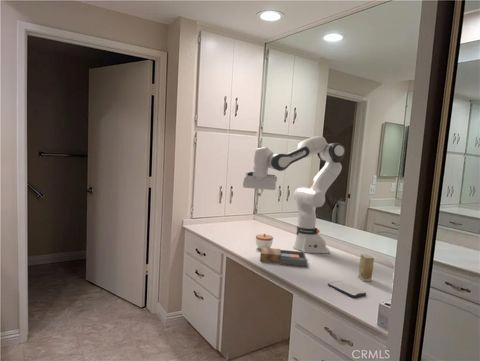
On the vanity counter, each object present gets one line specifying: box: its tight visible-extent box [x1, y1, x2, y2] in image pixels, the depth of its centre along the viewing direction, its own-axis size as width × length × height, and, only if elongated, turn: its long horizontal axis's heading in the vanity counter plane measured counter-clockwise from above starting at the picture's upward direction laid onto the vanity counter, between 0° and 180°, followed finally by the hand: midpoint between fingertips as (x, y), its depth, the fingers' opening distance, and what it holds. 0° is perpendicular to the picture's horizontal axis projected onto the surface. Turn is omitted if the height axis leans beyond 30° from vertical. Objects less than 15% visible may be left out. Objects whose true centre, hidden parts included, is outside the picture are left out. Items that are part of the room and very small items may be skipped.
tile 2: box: [281, 253, 290, 259], centre depth 193 cm, size 5×5×2 cm
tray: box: [279, 249, 308, 268], centre depth 193 cm, size 14×16×4 cm
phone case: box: [327, 280, 367, 299], centre depth 156 cm, size 9×2×16 cm
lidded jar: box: [255, 233, 274, 250], centre depth 213 cm, size 11×11×9 cm
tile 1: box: [290, 254, 299, 259], centre depth 192 cm, size 5×5×2 cm
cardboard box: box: [259, 247, 282, 264], centre depth 194 cm, size 11×12×4 cm
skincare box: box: [357, 253, 375, 283], centre depth 170 cm, size 6×4×12 cm
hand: (258, 196), depth 211 cm, fingers closed
